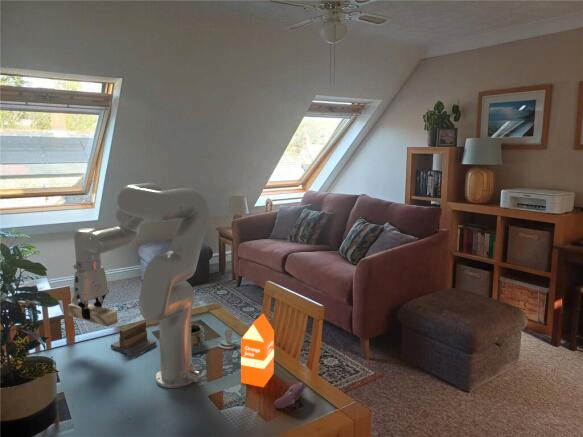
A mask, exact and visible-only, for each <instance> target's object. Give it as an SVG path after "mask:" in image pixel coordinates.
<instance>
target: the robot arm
mask: <svg viewBox="0 0 583 437" xmlns="http://www.w3.org/2000/svg"><path fill="white" fill-rule="evenodd" d="M117 205H118V207H117V209H116V211H115V218H116V220H117V222H118V223H119V224H118V225H116V226H115V227H108V228H105V229H100V230H98V229H97V228H94V227H83V228H78V229H76V230H75V231H74V233H73V234H74V235H73V236H74V251H75V252H74V253H75V264H74V265H73V269H74V270H75V271H74V276H73V278H74V279H73V294H74V295H73V297H72V300H71V302H70V304H75V305H78V306H79V307H80V308H81V309H82V317H83V319H86V320H90V309H89V308H88V304H89V301H91V300H93V299H94V303H93V305H94V306H98V307H103V305H102V304H103V303H104V300H105V298H106V297H107V295H108V294H109V293H110V290H109V288H108V280H107V276H106V275H107V274H106V271H105V268H104V266H103V265H102V262H101V261H102V260H101V258H102V257H101V255H103V254H106V253H110V252H114V251H116V250H121V249H123V248H125V247H127V246H128V245H130V244H131V243H132V242H133V241H134V240H135V239H136V238H137V237H138V236H139V234H140V233H141V232H140V231H141V226H142V225H143V224H144V223H145V222H146V221H147V220H149V221H154V222H159V223H160V222H169V221H174V220H179V219H181V221H180V223H179V224H178V226H177V227H176V229H175V231H174V234H173V236H172V242H171V246H170V248H169V250H167V251H166V252H164V253H161V254H158V255H156V256H154V257H152V259H150V260H149V261H148V262H147V265H146V266H145V271H144V274H143V277H142V278H143V279H142V282H141V288H140V291H139V297H138V310H139V312H140V315H141V316H142V317H143V319H144V320H145V321H147V322H150V323H156V322H159V326H158V327H159V330H158V332H159V354H160V355H159V357H160V358H159V360H160V361H159V362H160V363H159V364H160V367H159V368H160V370H159V371H157V373H156V374H155V382H156V384H157V385H159V386H161V387H164V388H167V389H177V388H182V387H186V386H188V385H190V384H191V383H193V382H194V383H197V382H198V381H199V378H200V376H201V371H198V370H197V369H196V368H195V364H194V363H193V362H192V360H193V358H192V356H193V355H192V351H193V349H191V324H192V311H193V304H194V300H195V297H194V296H195V294H194V289H193V287H192V285H191V283H190V282H188V281H187V280H188V279H191V277H193V276H194V274H195V272H196V270H197V267H198V266H197V265H198V263H199V259H200V254H201V250H202V245H203V241H204V237H205V234H206V231H207V227H208V224H209V220H210V209H209V204H208V201H207V200H206V198H205V197H204V195H203V194H202V193H201V192H200V191H198V190H197V189H195V188H188V187H183V188H181V187H180V188H175V189H174V188H173V189H168V190H167V189H166V190H165V189H163V187H162V186H161V185H159V184H157V183H152V182H145V183H136V184H134V183H133V184H128V185H126V186H124V187H123V188H121V190H120V191H119V192H118V195H117ZM86 320H85V321H86Z"/></svg>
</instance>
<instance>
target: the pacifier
mask: <svg viewBox="0 0 583 437" xmlns="http://www.w3.org/2000/svg"><path fill="white" fill-rule="evenodd" d="M232 336H233V330H232V329H231V328H226V329H225V330H224V336H219V337H218V342H219V343H218V344H217V346H218V348H220V349H224V350H231V349H234V348H235V347H236V346H235V344H236V343H237V342H238V341H239V338H238V339H233V340H232Z"/></svg>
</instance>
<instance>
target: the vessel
mask: <svg viewBox="0 0 583 437" xmlns="http://www.w3.org/2000/svg"><path fill="white" fill-rule="evenodd" d="M202 330H203V326H202V325H200V324H197V323H191V350H194V349H198V348H199V347H201V346H202V343H203V334H202Z"/></svg>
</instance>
